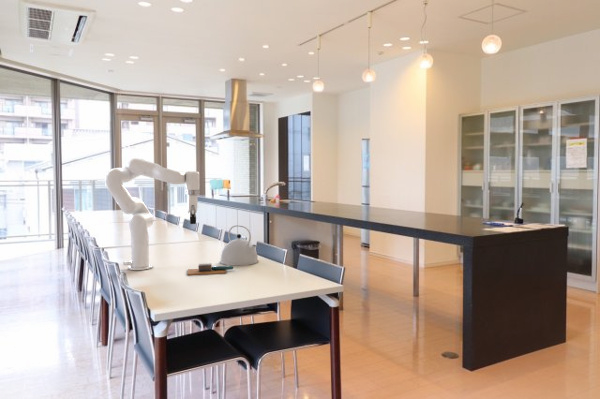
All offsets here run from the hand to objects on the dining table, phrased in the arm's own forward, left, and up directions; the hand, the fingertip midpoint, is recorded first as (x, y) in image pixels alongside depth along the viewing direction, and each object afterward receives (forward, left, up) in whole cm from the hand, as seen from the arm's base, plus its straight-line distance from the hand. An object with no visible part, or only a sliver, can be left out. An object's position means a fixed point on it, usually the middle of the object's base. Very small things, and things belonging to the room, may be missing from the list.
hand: (193, 223), depth 261 cm
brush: (+12, -11, -26) cm, 30 cm away
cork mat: (+7, -11, -26) cm, 29 cm away
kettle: (+28, +14, -26) cm, 41 cm away
